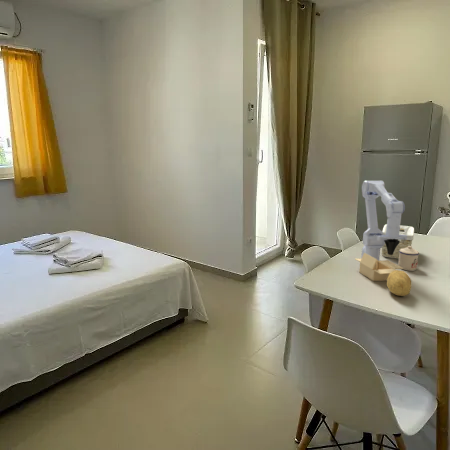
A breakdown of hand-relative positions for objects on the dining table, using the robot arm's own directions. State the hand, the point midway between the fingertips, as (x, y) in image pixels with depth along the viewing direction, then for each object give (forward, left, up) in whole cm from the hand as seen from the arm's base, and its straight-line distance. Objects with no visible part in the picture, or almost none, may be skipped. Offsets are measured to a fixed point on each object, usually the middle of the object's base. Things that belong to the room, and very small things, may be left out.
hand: (390, 254), depth 174 cm
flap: (0, -11, -3) cm, 11 cm away
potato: (+21, -10, -11) cm, 26 cm away
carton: (0, -5, -10) cm, 11 cm away
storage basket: (-32, +26, -11) cm, 43 cm away
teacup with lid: (-9, +17, -11) cm, 22 cm away
